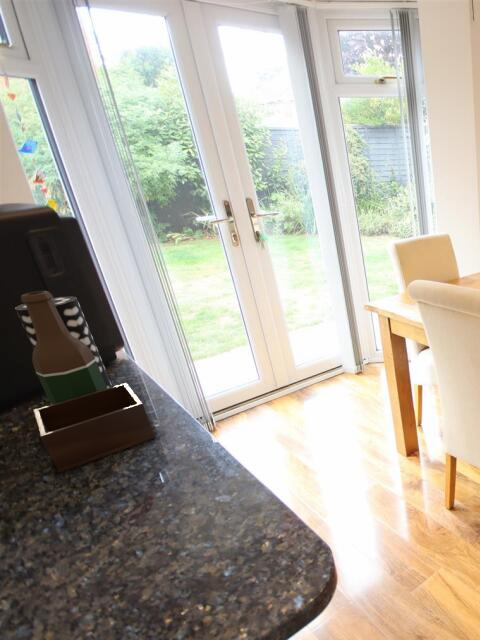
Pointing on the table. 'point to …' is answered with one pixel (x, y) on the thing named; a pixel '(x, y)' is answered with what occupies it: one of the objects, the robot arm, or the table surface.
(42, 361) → the beer bottle
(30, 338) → the spotted tube
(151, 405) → the table surface
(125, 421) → the brown wooden open box
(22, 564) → the table surface
